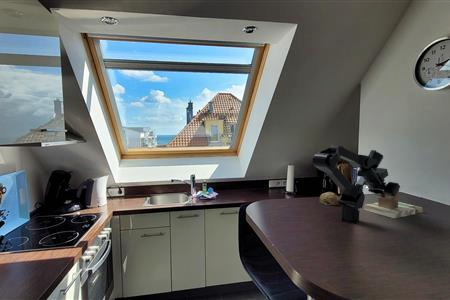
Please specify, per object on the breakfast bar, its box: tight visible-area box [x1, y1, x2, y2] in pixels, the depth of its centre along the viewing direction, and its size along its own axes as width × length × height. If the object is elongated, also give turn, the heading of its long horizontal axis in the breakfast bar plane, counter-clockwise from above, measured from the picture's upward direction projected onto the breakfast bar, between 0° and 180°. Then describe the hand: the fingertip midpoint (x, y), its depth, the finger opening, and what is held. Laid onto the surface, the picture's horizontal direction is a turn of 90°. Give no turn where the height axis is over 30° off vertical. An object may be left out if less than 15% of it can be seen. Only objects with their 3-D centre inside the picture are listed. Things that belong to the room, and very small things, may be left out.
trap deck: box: [363, 201, 424, 219], centre depth 134 cm, size 22×15×2 cm
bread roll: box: [319, 191, 340, 206], centre depth 147 cm, size 10×10×8 cm
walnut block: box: [377, 189, 400, 209], centre depth 131 cm, size 6×6×10 cm
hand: (384, 196), depth 130 cm, fingers closed
